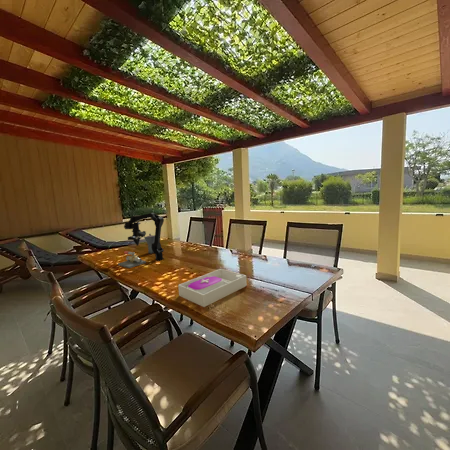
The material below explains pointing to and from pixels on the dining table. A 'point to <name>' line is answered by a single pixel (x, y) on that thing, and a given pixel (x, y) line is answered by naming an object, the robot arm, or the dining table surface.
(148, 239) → the moka pot
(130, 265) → the valve board
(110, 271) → the dining table surface
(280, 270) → the dining table surface
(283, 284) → the dining table surface
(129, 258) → the valve body
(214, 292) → the white tray with pad
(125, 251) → the valve lever
